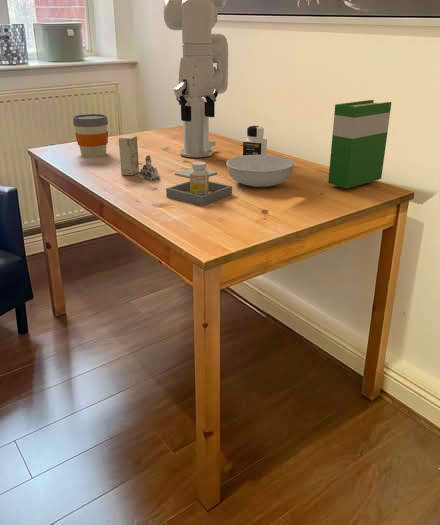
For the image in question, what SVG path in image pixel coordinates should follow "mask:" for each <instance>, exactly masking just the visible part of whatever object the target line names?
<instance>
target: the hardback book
mask: <svg viewBox="0 0 440 525" xmlns="http://www.w3.org/2000/svg"><path fill="white" fill-rule="evenodd" d="M374 101H375V100H374V99H368V100H367V99H366V100H359V101H353V102H344V103H336V104H335V105H334V113H333V114H334V115H333V126H332V137H331V148H330V158H329V159H330V161H329V170H328V171H329V172H328V179H327V180H328V181H327V184H329V185H334V186H337V187H340V188H344V189H350V188H354V187H357V186H360V185H364V184H367V183H368V184H369V183H371V182H375V181H378V180H381V179H382V177H383V170H384V169H383V168H384V163H385V161H384V160H385V154H386V146H387V139H388V130H389V124H390V118H391V116H390V115H391V107H392V101H385V102H374Z"/></svg>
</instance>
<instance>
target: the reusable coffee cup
mask: <svg viewBox="0 0 440 525" xmlns="http://www.w3.org/2000/svg"><path fill="white" fill-rule="evenodd" d="M107 116H108V115H105V114H101V113H100V114H99V113H86V114H78V115H74V116H73V117H72V118H73V122H72V123H73V124H72V125H73V126H74V129H75V132H74V135H75V138H76V142H77V146H78V147H79V151H80V154H81V157H84V158H92V159H93V158H101V157H105V156H106V155H107V144H108V142H109V140H108V139H109V131H108V124H109V122H108V117H107Z"/></svg>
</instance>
